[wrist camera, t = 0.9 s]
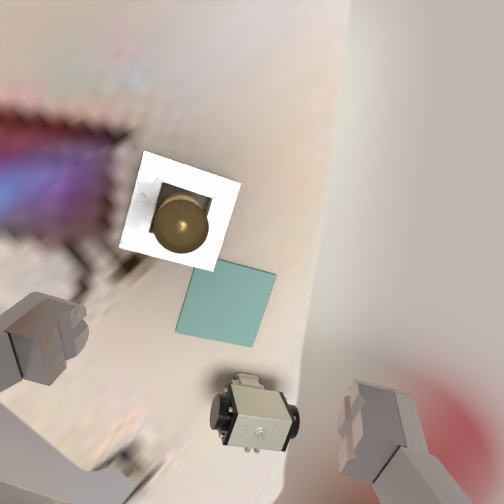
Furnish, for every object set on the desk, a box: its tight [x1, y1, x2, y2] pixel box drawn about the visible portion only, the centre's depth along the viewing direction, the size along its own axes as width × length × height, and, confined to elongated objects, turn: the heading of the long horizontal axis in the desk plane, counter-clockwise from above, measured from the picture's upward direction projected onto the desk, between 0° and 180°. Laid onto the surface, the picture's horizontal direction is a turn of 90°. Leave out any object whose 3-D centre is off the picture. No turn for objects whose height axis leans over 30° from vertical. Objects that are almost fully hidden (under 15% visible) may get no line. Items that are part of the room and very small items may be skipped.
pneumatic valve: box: [210, 373, 300, 454], centre depth 46 cm, size 6×12×12 cm, turn 71°
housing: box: [119, 151, 241, 272], centre depth 42 cm, size 12×12×4 cm
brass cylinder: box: [153, 192, 209, 254], centre depth 37 cm, size 5×5×14 cm
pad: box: [176, 259, 277, 347], centre depth 48 cm, size 12×12×1 cm
